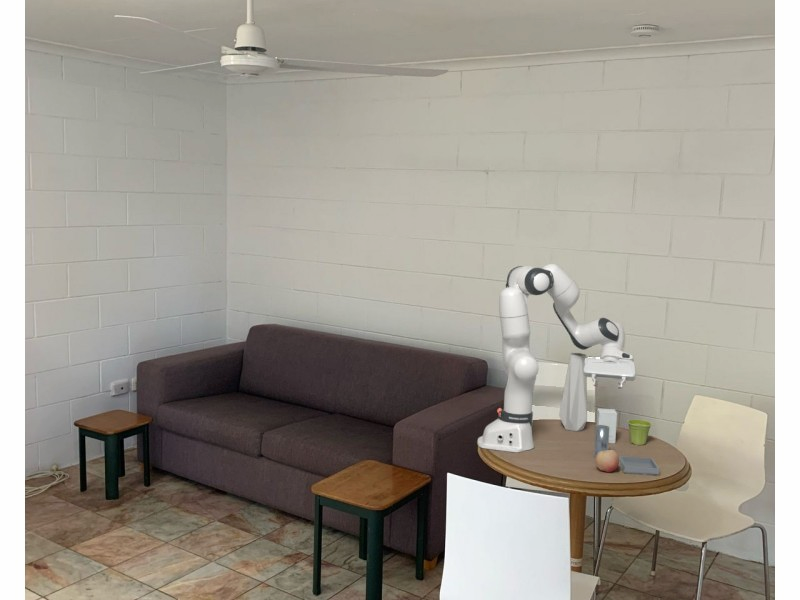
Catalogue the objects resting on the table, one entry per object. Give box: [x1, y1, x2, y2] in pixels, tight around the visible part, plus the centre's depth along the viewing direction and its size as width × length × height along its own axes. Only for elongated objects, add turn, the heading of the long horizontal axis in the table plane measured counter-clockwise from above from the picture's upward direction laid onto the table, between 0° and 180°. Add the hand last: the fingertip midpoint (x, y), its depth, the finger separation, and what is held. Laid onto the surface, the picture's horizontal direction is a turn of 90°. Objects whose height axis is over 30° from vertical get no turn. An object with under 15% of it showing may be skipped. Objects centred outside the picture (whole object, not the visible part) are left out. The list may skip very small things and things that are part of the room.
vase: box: [558, 352, 588, 432], centre depth 326 cm, size 12×12×33 cm
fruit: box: [595, 449, 620, 473], centre depth 274 cm, size 8×8×8 cm
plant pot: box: [627, 419, 652, 446], centre depth 309 cm, size 9×9×9 cm
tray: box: [618, 455, 660, 476], centre depth 278 cm, size 12×12×2 cm
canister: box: [593, 425, 609, 459], centre depth 290 cm, size 5×5×12 cm
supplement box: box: [595, 408, 618, 444], centre depth 312 cm, size 7×7×13 cm
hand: (607, 386), depth 300 cm, fingers open, 8 cm apart
